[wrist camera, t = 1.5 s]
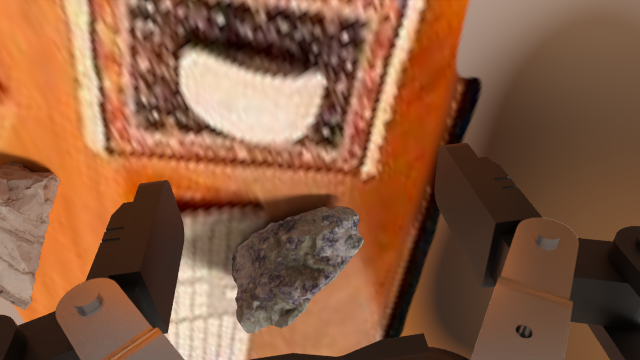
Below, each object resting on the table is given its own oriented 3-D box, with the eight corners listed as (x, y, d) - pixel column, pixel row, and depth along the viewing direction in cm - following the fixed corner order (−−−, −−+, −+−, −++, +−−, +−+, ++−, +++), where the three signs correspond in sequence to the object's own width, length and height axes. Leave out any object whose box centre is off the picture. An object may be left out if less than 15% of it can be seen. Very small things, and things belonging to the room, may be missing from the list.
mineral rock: (355, 193, 44) (378, 269, 36) (353, 269, 50) (373, 347, 42) (222, 207, 43) (216, 288, 35) (237, 282, 49) (235, 365, 41)
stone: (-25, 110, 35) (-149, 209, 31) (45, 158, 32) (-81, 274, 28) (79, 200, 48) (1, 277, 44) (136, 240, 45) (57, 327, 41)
